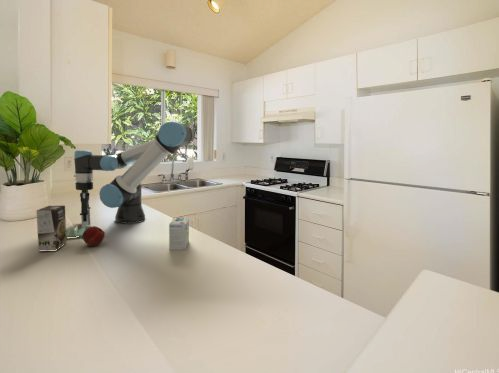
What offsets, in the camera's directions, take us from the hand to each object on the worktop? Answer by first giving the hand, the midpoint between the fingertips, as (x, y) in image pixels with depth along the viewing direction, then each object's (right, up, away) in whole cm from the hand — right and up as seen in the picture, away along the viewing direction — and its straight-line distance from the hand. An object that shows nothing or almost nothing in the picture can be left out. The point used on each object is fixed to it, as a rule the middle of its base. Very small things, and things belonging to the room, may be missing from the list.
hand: (85, 224), depth 141 cm
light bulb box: (+54, -6, -24) cm, 59 cm away
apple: (+20, -5, -28) cm, 35 cm away
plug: (0, 0, 0) cm, 0 cm away
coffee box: (+6, -5, -32) cm, 33 cm away
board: (+5, -2, -15) cm, 16 cm away
